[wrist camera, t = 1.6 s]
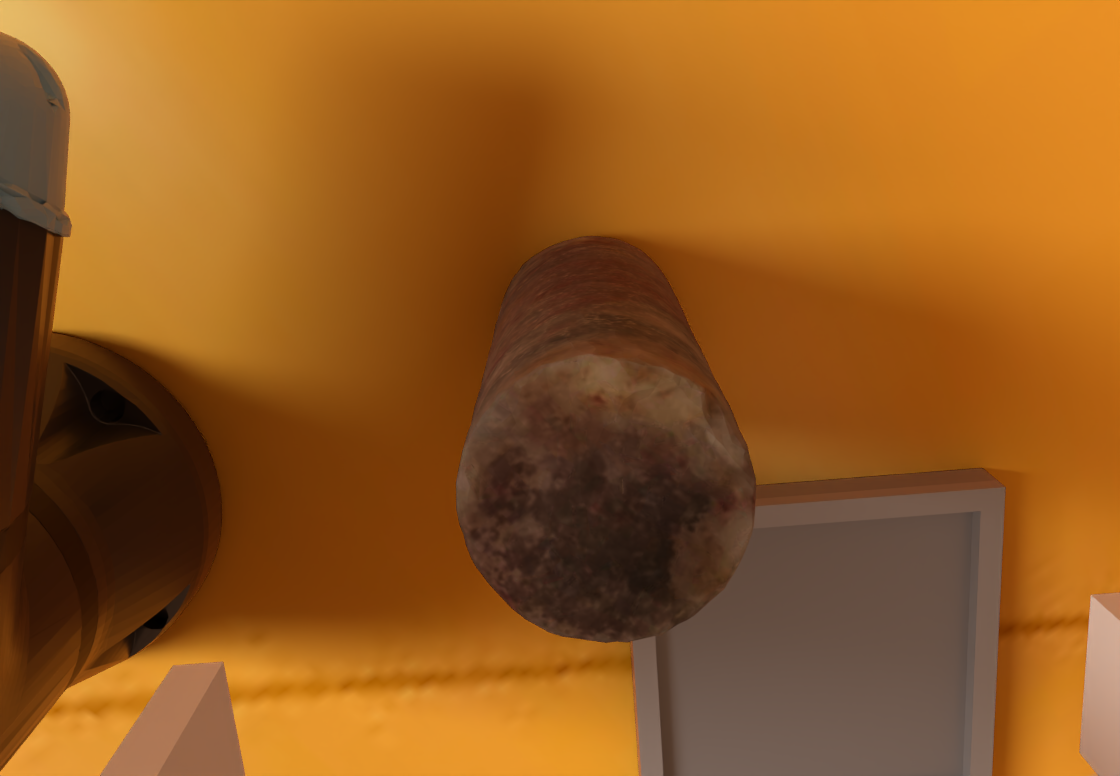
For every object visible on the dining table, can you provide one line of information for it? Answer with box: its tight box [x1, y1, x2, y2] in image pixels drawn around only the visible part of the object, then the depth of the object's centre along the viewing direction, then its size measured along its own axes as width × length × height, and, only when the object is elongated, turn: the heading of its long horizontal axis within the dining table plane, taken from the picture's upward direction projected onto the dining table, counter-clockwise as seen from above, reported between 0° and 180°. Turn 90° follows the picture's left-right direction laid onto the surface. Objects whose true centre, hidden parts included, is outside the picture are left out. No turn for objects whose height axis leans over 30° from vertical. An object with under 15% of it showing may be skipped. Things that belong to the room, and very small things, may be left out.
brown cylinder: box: [456, 236, 756, 643], centre depth 33 cm, size 8×7×20 cm
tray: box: [630, 468, 1005, 776], centre depth 45 cm, size 16×16×2 cm
